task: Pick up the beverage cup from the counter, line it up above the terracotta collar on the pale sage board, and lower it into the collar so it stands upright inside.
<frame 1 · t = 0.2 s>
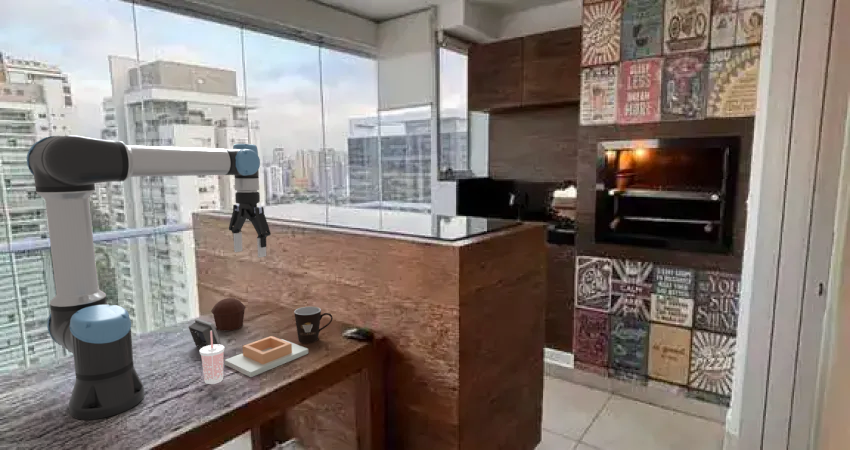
hand: (250, 254, 156), 28 cm above the table, tool pointing down, fingers open, 13 cm apart
electrical switch: (206, 349, 147), on the table
coffee mug: (312, 340, 155), on the table
beverage cup: (213, 380, 126), on the table
cup holder: (267, 358, 140), on the table
muffin: (229, 327, 166), on the table
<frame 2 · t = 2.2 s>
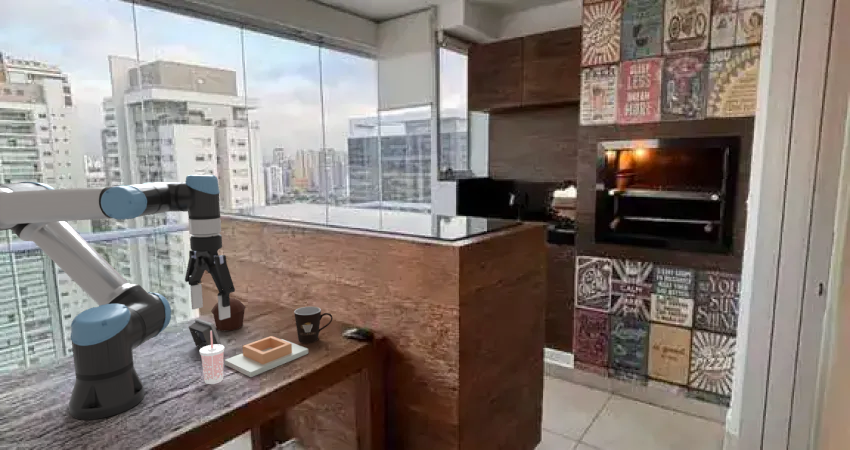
hand: (210, 313, 123), 19 cm above the table, tool pointing down, fingers open, 13 cm apart
nothing on the table moved.
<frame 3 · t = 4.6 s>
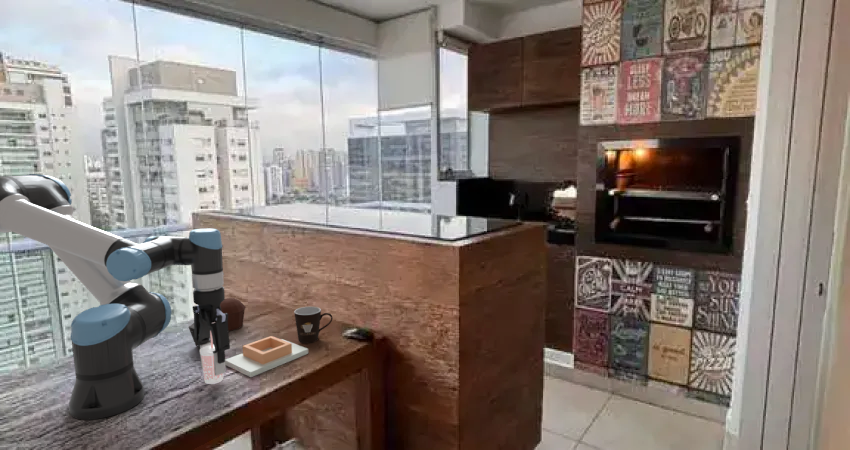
hand: (213, 369, 126), 3 cm above the table, tool pointing down, fingers closed on beverage cup, 6 cm apart
beverage cup: (214, 380, 126), on the table, touching gripper
everything else where it was.
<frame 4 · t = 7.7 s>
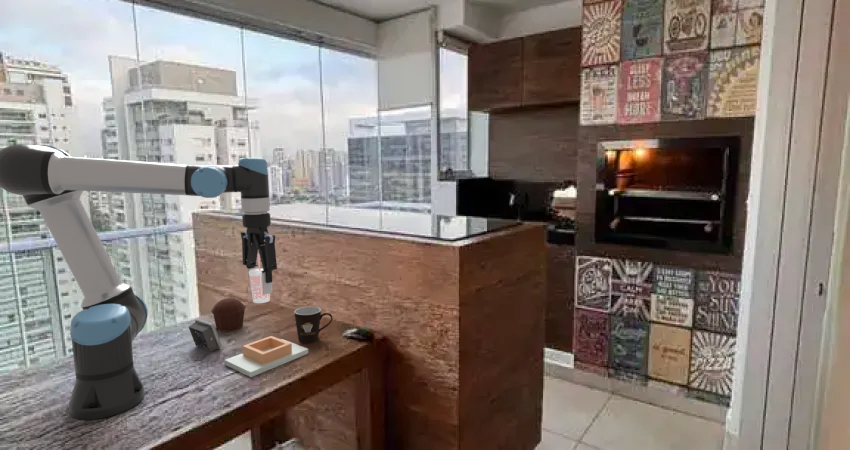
hand: (261, 291, 135), 22 cm above the table, tool pointing down, fingers closed on beverage cup, 6 cm apart
beverage cup: (261, 301, 135), point 18 cm above the table, touching gripper
everything else where it was.
when the fingers open (6 cm above the table, at t = 10.7 s): beverage cup drops 2 cm, resting on cup holder.
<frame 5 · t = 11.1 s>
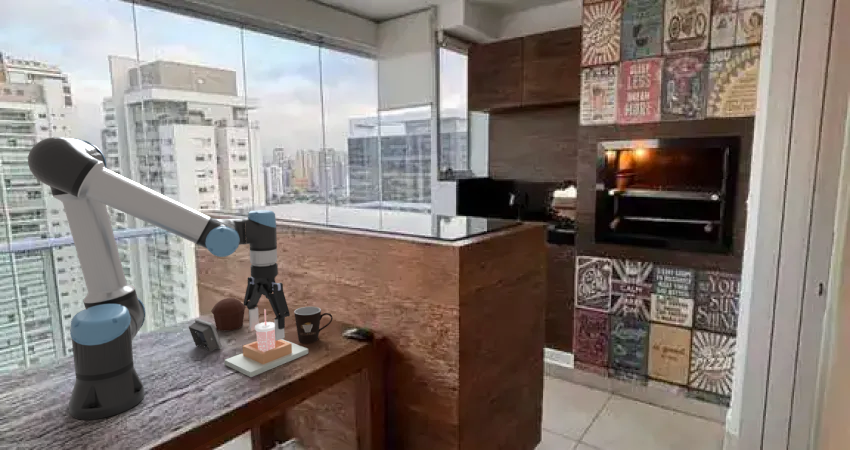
hand: (266, 334, 139), 8 cm above the table, tool pointing down, fingers open, 12 cm apart
beverage cup: (266, 354, 140), point 1 cm above the table, touching cup holder
everything else where it was.
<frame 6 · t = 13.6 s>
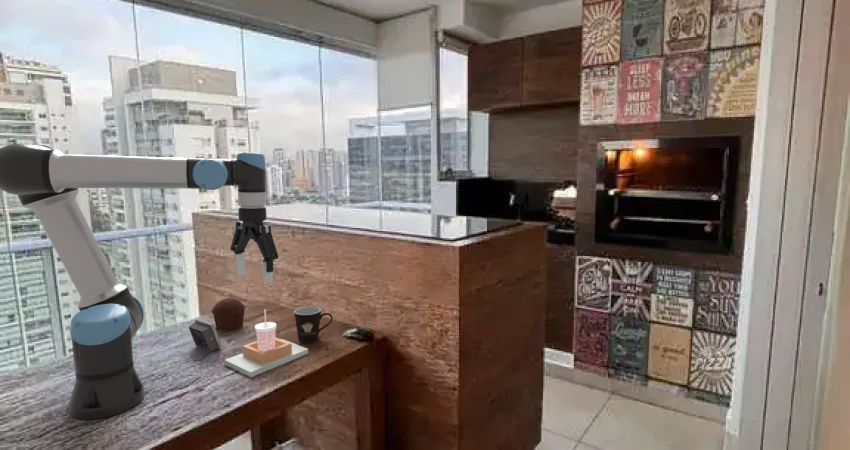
hand: (254, 279, 136), 25 cm above the table, tool pointing down, fingers open, 13 cm apart
nothing on the table moved.
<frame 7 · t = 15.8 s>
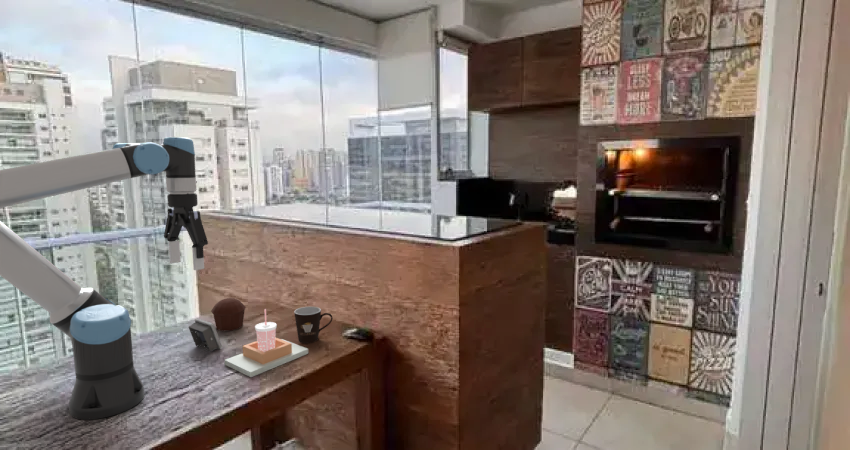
hand: (186, 266, 134), 29 cm above the table, tool pointing down, fingers open, 13 cm apart
nothing on the table moved.
at the end: beverage cup 0.2 cm off-centre on the cup holder, point 1.3 cm above the cup holder's base; beverage cup tilted 0°; the gripper is holding nothing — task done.
